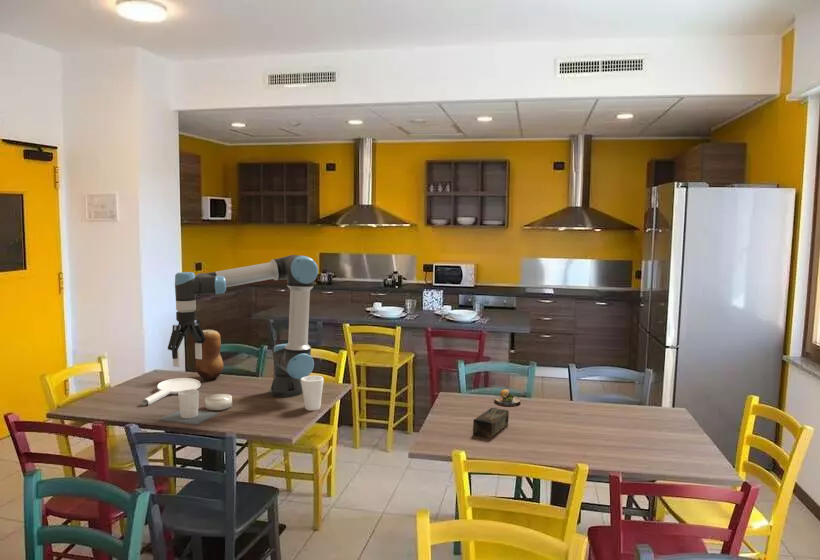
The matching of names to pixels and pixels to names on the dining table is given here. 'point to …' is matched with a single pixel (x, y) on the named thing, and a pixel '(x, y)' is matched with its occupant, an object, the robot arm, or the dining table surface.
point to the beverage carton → (490, 422)
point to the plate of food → (506, 399)
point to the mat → (194, 421)
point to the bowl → (218, 401)
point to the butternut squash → (210, 356)
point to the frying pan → (172, 388)
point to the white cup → (189, 403)
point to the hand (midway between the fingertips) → (188, 362)
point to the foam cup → (312, 391)
